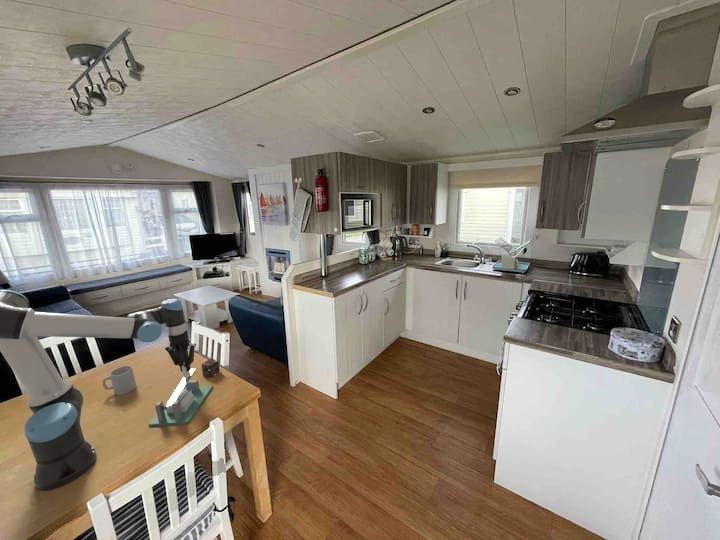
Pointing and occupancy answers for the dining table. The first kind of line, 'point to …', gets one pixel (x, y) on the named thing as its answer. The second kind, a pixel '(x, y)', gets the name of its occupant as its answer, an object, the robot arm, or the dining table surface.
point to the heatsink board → (182, 405)
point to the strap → (178, 391)
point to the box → (210, 368)
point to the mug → (121, 380)
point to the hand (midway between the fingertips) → (187, 376)
